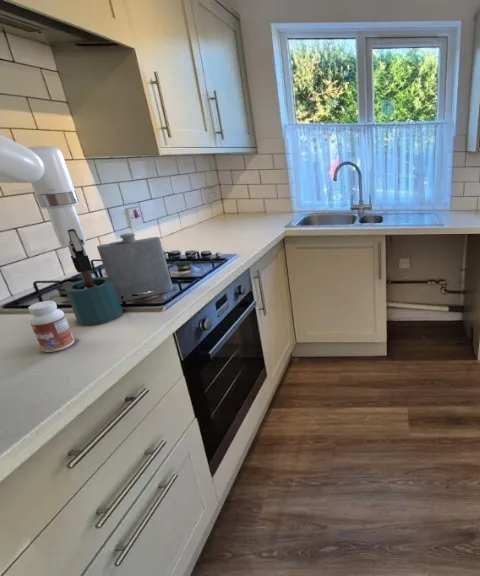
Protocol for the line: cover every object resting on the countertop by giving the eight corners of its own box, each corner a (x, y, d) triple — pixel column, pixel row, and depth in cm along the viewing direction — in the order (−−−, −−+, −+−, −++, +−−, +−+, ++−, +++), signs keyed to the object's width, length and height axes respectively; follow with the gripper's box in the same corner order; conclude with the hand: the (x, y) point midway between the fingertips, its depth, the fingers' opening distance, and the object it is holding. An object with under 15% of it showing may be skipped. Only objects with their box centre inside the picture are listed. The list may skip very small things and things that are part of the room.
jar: (81, 329, 95) (67, 294, 91) (75, 317, 102) (62, 284, 98) (126, 316, 102) (115, 283, 98) (118, 305, 108) (107, 274, 104)
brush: (89, 312, 97) (66, 253, 91) (86, 307, 101) (64, 250, 94) (110, 306, 101) (90, 249, 94) (106, 301, 104) (86, 246, 97)
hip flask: (172, 287, 121) (156, 228, 113) (174, 290, 118) (158, 230, 110) (115, 299, 113) (94, 237, 105) (115, 303, 109) (93, 239, 102)
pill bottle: (35, 352, 85) (15, 310, 80) (59, 339, 90) (41, 298, 86) (59, 353, 84) (40, 310, 80) (81, 339, 90) (65, 299, 86)
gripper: (35, 198, 92) (62, 266, 99) (41, 205, 81) (70, 281, 89) (73, 195, 97) (96, 260, 104) (82, 201, 86) (107, 273, 93)
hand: (84, 269), depth 96 cm, fingers closed on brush
